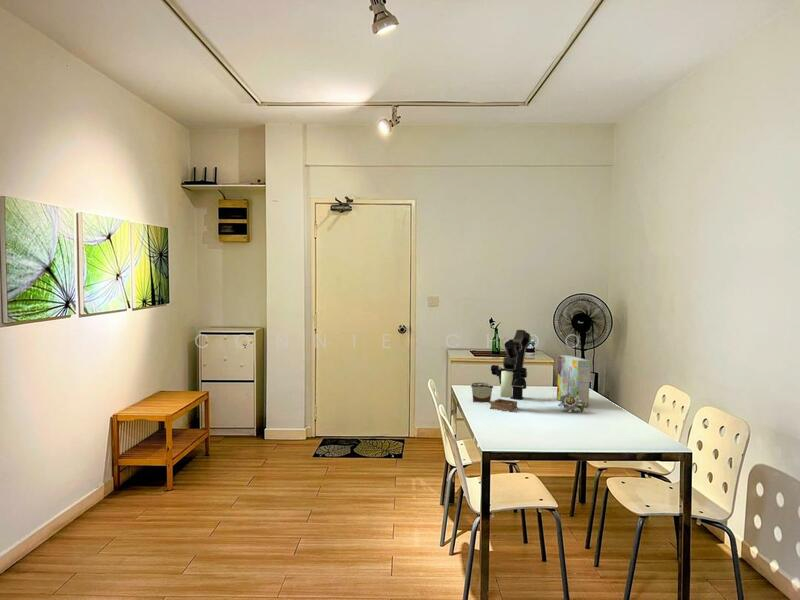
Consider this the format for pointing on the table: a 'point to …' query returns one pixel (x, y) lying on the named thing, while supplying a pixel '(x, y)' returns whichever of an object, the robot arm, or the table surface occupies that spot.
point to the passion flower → (570, 402)
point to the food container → (481, 392)
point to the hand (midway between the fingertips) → (506, 384)
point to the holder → (504, 405)
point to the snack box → (574, 378)
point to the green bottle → (506, 383)
